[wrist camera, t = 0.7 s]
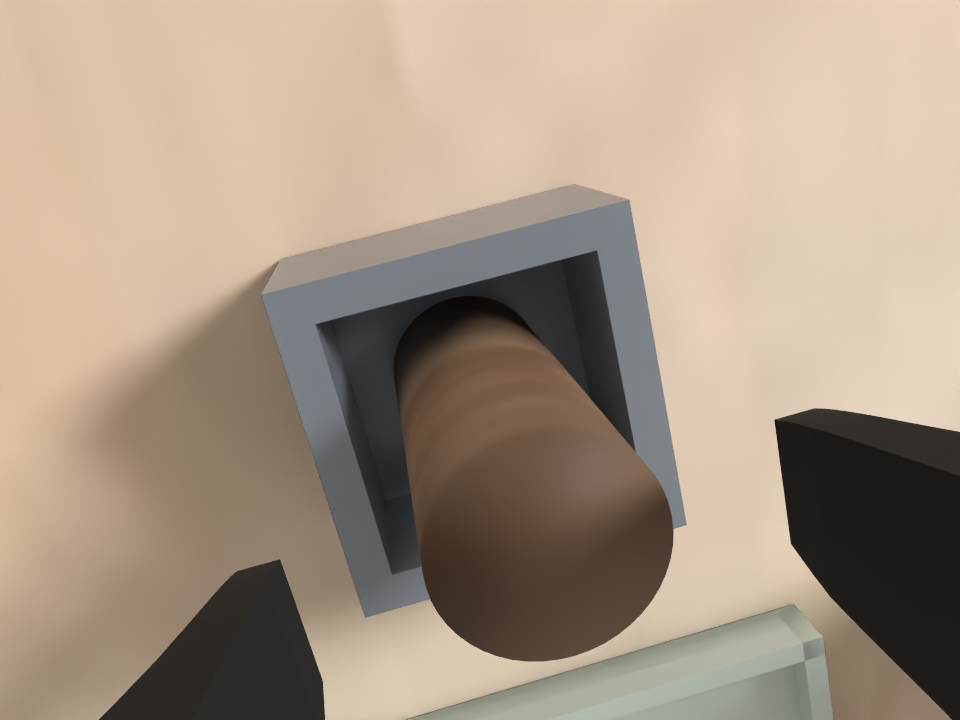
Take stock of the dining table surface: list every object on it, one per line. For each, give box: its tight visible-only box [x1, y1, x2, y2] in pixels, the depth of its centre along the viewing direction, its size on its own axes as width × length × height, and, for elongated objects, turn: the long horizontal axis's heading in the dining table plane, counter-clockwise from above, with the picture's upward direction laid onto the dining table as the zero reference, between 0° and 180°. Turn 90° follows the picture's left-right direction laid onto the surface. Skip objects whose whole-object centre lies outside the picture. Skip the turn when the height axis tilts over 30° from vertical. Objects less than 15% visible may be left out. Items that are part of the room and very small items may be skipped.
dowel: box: [394, 296, 673, 661], centre depth 16 cm, size 4×4×9 cm
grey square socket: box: [261, 184, 687, 617], centre depth 19 cm, size 7×7×4 cm
